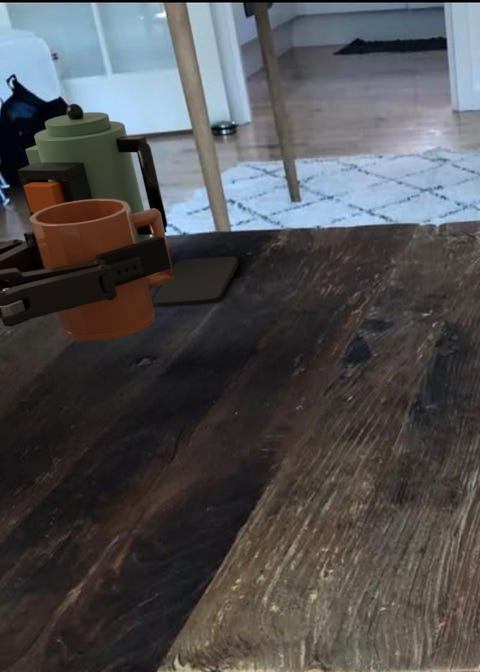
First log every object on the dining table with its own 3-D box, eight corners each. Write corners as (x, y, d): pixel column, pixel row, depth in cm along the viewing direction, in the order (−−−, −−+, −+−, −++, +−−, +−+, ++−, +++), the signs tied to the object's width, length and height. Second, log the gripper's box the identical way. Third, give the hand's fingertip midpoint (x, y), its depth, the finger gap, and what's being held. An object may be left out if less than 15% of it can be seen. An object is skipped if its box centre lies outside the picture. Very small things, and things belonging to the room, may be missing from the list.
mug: (94, 347, 99) (62, 230, 93) (45, 329, 103) (11, 216, 97) (204, 308, 105) (181, 196, 99) (154, 292, 110) (128, 185, 104)
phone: (149, 303, 120) (176, 260, 132) (151, 311, 120) (178, 267, 132) (218, 298, 119) (239, 255, 131) (220, 306, 120) (240, 262, 132)
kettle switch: (30, 212, 123) (23, 185, 122) (40, 208, 125) (33, 181, 123) (58, 213, 122) (51, 186, 121) (67, 208, 124) (60, 181, 122)
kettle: (20, 285, 131) (-30, 120, 120) (87, 250, 141) (45, 95, 131) (138, 289, 127) (96, 119, 116) (197, 253, 137) (164, 93, 126)
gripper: (-140, 337, 98) (85, 267, 111) (-24, 392, 86) (214, 306, 99) (-176, 249, 93) (64, 187, 106) (-58, 294, 81) (196, 218, 94)
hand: (136, 244), depth 102 cm, fingers closed on mug, 8 cm apart
